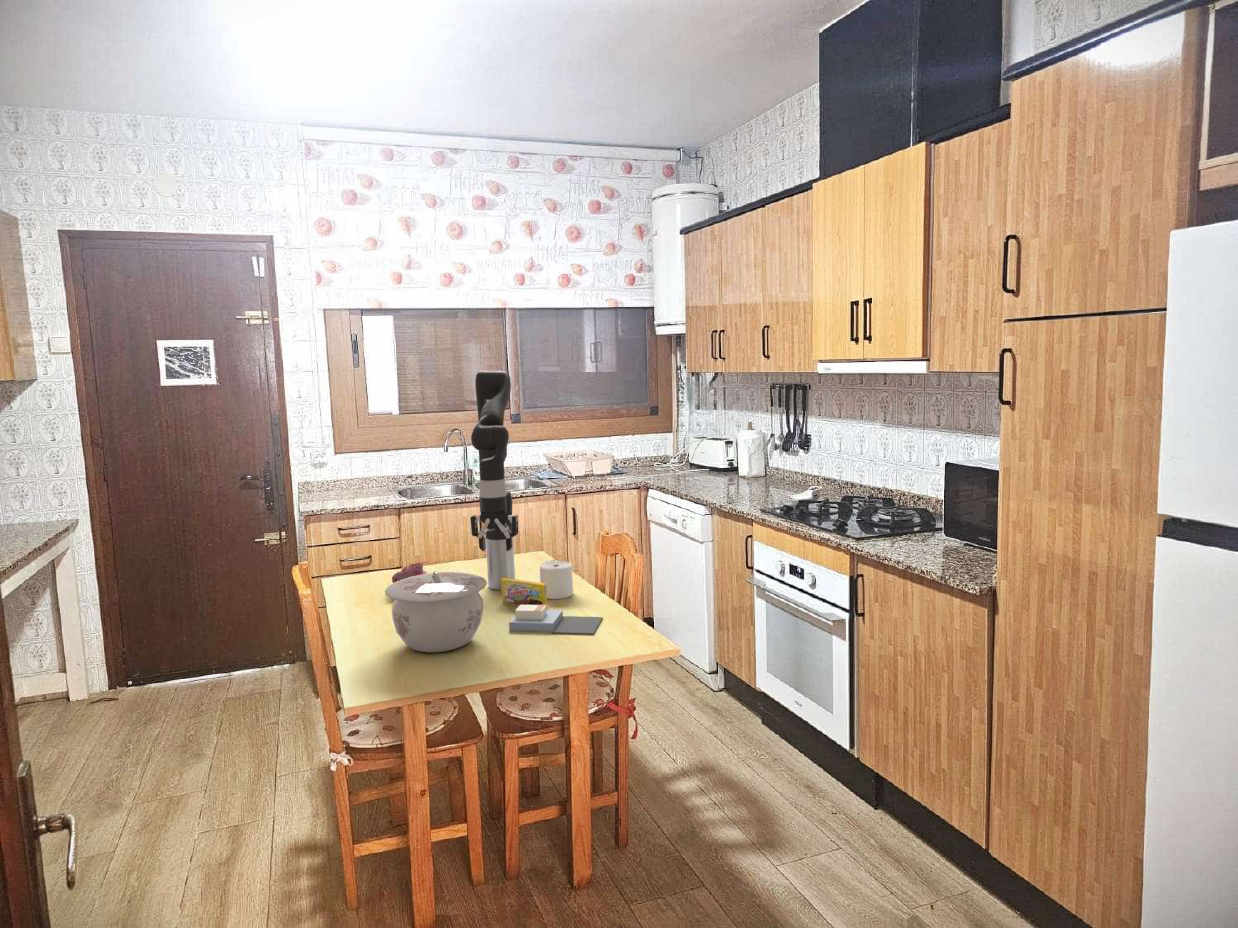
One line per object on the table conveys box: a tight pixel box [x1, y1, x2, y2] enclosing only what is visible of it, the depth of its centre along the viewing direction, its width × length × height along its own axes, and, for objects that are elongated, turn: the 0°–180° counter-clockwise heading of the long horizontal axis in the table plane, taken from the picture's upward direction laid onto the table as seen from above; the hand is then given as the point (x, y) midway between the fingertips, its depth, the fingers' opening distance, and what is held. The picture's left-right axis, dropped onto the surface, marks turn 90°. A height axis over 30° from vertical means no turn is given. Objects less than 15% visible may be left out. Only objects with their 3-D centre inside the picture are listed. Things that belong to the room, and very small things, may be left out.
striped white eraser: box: [514, 604, 548, 619], centre depth 237 cm, size 6×8×3 cm
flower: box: [391, 561, 428, 584], centre depth 273 cm, size 15×15×10 cm
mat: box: [551, 615, 603, 636], centre depth 235 cm, size 14×12×1 cm
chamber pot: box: [384, 570, 488, 654], centre depth 222 cm, size 28×28×21 cm
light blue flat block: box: [508, 609, 564, 633], centre depth 237 cm, size 12×13×2 cm
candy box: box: [501, 578, 548, 607], centre depth 255 cm, size 16×2×8 cm, turn 62°
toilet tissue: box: [539, 558, 574, 600], centre depth 266 cm, size 11×12×10 cm
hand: (495, 550), depth 236 cm, fingers open, 7 cm apart
